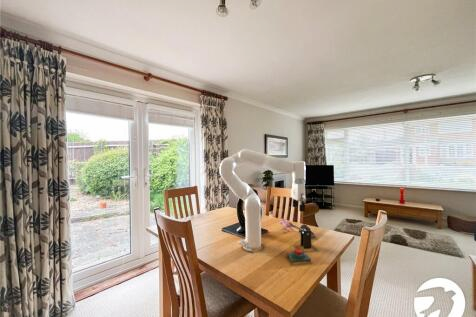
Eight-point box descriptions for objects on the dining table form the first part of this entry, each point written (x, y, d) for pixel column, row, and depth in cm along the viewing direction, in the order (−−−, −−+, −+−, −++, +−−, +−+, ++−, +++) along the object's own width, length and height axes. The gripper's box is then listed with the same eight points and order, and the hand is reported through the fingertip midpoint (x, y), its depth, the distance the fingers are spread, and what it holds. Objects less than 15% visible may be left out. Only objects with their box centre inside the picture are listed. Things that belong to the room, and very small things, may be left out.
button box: (292, 264, 104) (292, 257, 104) (286, 257, 112) (286, 250, 112) (310, 263, 106) (310, 255, 105) (304, 255, 113) (303, 248, 113)
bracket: (300, 252, 117) (300, 232, 117) (295, 246, 125) (295, 227, 125) (317, 251, 119) (316, 231, 118) (310, 245, 127) (310, 226, 126)
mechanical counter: (311, 225, 147) (298, 222, 147) (319, 229, 134) (304, 226, 134) (309, 234, 146) (296, 232, 146) (317, 240, 134) (302, 237, 133)
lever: (291, 227, 118) (293, 224, 118) (288, 224, 123) (290, 221, 123) (308, 236, 119) (310, 233, 120) (304, 233, 124) (306, 229, 125)
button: (296, 255, 107) (296, 252, 107) (293, 252, 110) (293, 249, 110) (303, 254, 107) (302, 251, 107) (300, 251, 111) (300, 248, 111)
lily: (297, 235, 145) (298, 221, 149) (284, 231, 141) (286, 217, 145) (286, 234, 155) (287, 222, 159) (274, 231, 151) (276, 218, 155)
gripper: (287, 179, 131) (287, 205, 131) (299, 183, 113) (298, 213, 114) (298, 179, 132) (298, 205, 132) (311, 182, 115) (311, 212, 115)
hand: (298, 208), depth 123 cm, fingers open, 9 cm apart
